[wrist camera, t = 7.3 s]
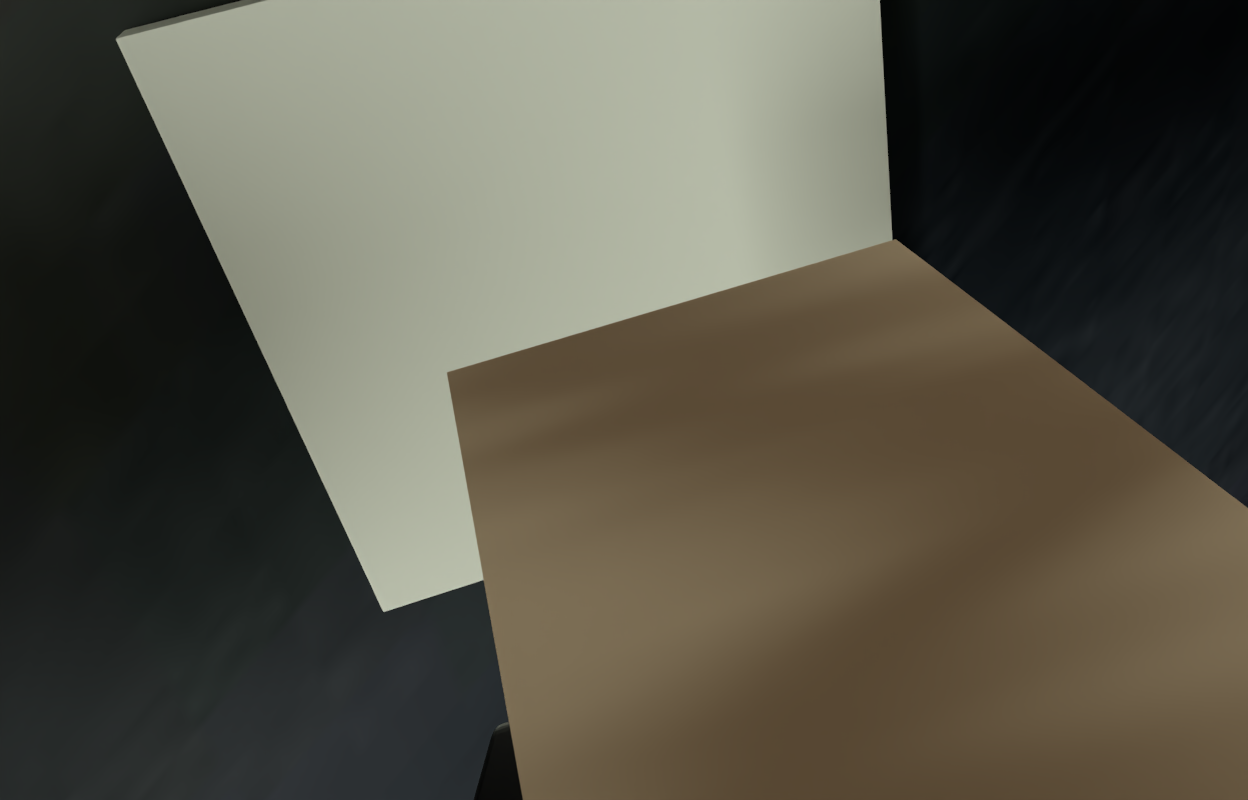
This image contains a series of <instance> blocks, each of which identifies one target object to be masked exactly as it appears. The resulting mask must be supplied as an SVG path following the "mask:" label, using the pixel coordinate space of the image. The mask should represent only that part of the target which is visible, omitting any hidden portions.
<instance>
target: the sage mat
mask: <svg viewBox="0 0 1248 800" xmlns="http://www.w3.org/2000/svg"><path fill="white" fill-rule="evenodd" d="M116 41H117V43H118V45H119V47H120V50H121V52H122V54H123V56H124V58H125V60H126V62H127V65H128V67H129V69H130V71H131V73H132V75H133V77H134V79H135V82H136V84H137V86H138V88H139V90H140V92H141V94H142V97H143V99H144V101H145V103H146V105H147V107H148V109H149V112H150V114H151V116H152V118H153V120H154V122H155V124H156V127H157V129H158V131H159V133H160V135H161V137H162V139H163V142H164V144H165V146H166V148H167V150H168V152H169V154H170V157H171V159H172V161H173V163H174V165H175V167H176V169H177V171H178V174H179V176H180V178H181V180H182V182H183V184H184V186H185V189H186V191H187V193H188V195H189V197H190V199H191V201H192V204H193V206H194V208H195V210H196V212H197V214H198V216H199V219H200V221H201V223H202V225H203V227H204V229H205V231H206V234H207V236H208V238H209V240H210V242H211V244H212V246H213V249H214V251H215V253H216V255H217V257H218V259H219V261H220V263H221V266H222V268H223V270H224V272H225V274H226V276H227V278H228V281H229V283H230V285H231V287H232V289H233V291H234V293H235V296H236V298H237V300H238V302H239V304H240V306H241V308H242V311H243V313H244V315H245V317H246V319H247V321H248V323H249V326H250V328H251V330H252V332H253V334H254V336H255V338H256V341H257V343H258V345H259V347H260V349H261V351H262V353H263V355H264V358H265V360H266V362H267V364H268V366H269V368H270V370H271V373H272V375H273V377H274V379H275V381H276V383H277V385H278V388H279V390H280V392H281V394H282V396H283V398H284V400H285V403H286V405H287V407H288V409H289V411H290V413H291V415H292V418H293V420H294V422H295V424H296V426H297V428H298V430H299V433H300V435H301V437H302V439H303V441H304V443H305V445H306V447H307V450H308V452H309V454H310V456H311V458H312V460H313V462H314V465H315V467H316V469H317V471H318V473H319V475H320V477H321V480H322V482H323V484H324V486H325V488H326V490H327V492H328V495H329V497H330V499H331V501H332V503H333V505H334V507H335V510H336V512H337V514H338V516H339V518H340V520H341V522H342V525H343V527H344V529H345V531H346V533H347V535H348V537H349V539H350V542H351V544H352V546H353V548H354V550H355V552H356V554H357V557H358V559H359V561H360V563H361V565H362V567H363V569H364V572H365V574H366V576H367V578H368V580H369V582H370V584H371V587H372V589H373V591H374V593H375V595H376V597H377V599H378V602H379V604H380V606H381V608H382V610H383V612H385V611H388V610H391V609H394V608H398V607H401V606H404V605H407V604H410V603H413V602H416V601H419V600H422V599H426V598H429V597H432V596H435V595H438V594H441V593H444V592H447V591H450V590H453V589H457V588H460V587H463V586H466V585H469V584H472V583H475V582H478V581H481V580H484V579H483V573H482V567H481V562H480V556H479V551H478V545H477V539H476V534H475V528H474V522H473V517H472V511H471V506H470V500H469V494H468V489H467V483H466V478H465V472H464V466H463V461H462V455H461V450H460V444H459V438H458V433H457V427H456V421H455V416H454V410H453V405H452V399H451V393H450V388H449V382H448V377H447V372H450V371H453V370H456V369H460V368H463V367H467V366H470V365H473V364H477V363H480V362H483V361H487V360H490V359H493V358H497V357H500V356H504V355H507V354H510V353H514V352H517V351H520V350H524V349H527V348H531V347H534V346H537V345H541V344H544V343H547V342H551V341H554V340H558V339H561V338H564V337H568V336H571V335H574V334H578V333H581V332H585V331H588V330H591V329H595V328H598V327H601V326H605V325H608V324H612V323H615V322H618V321H622V320H625V319H628V318H632V317H635V316H638V315H642V314H645V313H649V312H652V311H655V310H659V309H662V308H665V307H669V306H672V305H676V304H679V303H682V302H686V301H689V300H692V299H696V298H699V297H703V296H706V295H709V294H713V293H716V292H719V291H723V290H726V289H730V288H733V287H736V286H740V285H743V284H746V283H750V282H753V281H757V280H760V279H763V278H767V277H770V276H773V275H777V274H780V273H783V272H787V271H790V270H794V269H797V268H800V267H804V266H807V265H810V264H814V263H817V262H821V261H824V260H827V259H831V258H834V257H837V256H841V255H844V254H848V253H851V252H854V251H858V250H861V249H864V248H868V247H871V246H875V245H878V244H881V243H885V242H888V241H891V240H892V223H891V204H890V185H889V166H888V147H887V128H886V109H885V90H884V71H883V52H882V33H881V14H880V0H241V1H237V2H233V3H229V4H225V5H221V6H218V7H214V8H210V9H206V10H202V11H198V12H194V13H190V14H186V15H182V16H178V17H174V18H170V19H167V20H163V21H159V22H155V23H151V24H147V25H143V26H139V27H135V28H131V29H127V30H124V31H123V32H122V33H121V34H120V35H119V36H118V37H117V38H116Z"/></svg>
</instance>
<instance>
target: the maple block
mask: <svg viewBox="0 0 1248 800" xmlns="http://www.w3.org/2000/svg"><path fill="white" fill-rule="evenodd" d="M447 377H448V382H449V388H450V393H451V399H452V405H453V410H454V416H455V421H456V427H457V433H458V438H459V444H460V450H461V455H462V461H463V466H464V472H465V478H466V483H467V489H468V494H469V500H470V506H471V511H472V517H473V522H474V528H475V534H476V539H477V545H478V551H479V556H480V562H481V567H482V573H483V579H484V584H485V590H486V595H487V601H488V607H489V612H490V618H491V623H492V629H493V635H494V640H495V646H496V651H497V657H498V663H499V668H500V674H501V680H502V685H503V691H504V696H505V702H506V708H507V713H508V719H509V724H510V730H511V736H512V741H513V747H514V752H515V758H516V764H517V769H518V775H519V780H520V786H521V792H522V797H523V800H1248V508H1247V507H1245V506H1244V505H1243V504H1242V503H1240V502H1239V501H1238V500H1236V499H1235V498H1234V497H1232V496H1231V495H1230V494H1228V493H1227V492H1226V491H1225V490H1223V489H1222V488H1221V487H1219V486H1218V485H1217V484H1215V483H1214V482H1213V481H1211V480H1210V479H1209V478H1208V477H1206V476H1205V475H1204V474H1202V473H1201V472H1200V471H1198V470H1197V469H1196V468H1194V467H1193V466H1192V465H1191V464H1189V463H1188V462H1187V461H1185V460H1184V459H1183V458H1181V457H1180V456H1179V455H1177V454H1176V453H1175V452H1174V451H1172V450H1171V449H1170V448H1168V447H1167V446H1166V445H1164V444H1163V443H1162V442H1160V441H1159V440H1158V439H1156V438H1155V437H1154V436H1153V435H1151V434H1150V433H1149V432H1147V431H1146V430H1145V429H1143V428H1142V427H1141V426H1139V425H1138V424H1137V423H1136V422H1134V421H1133V420H1132V419H1130V418H1129V417H1128V416H1126V415H1125V414H1124V413H1122V412H1121V411H1120V410H1119V409H1117V408H1116V407H1115V406H1113V405H1112V404H1111V403H1109V402H1108V401H1107V400H1105V399H1104V398H1103V397H1102V396H1100V395H1099V394H1098V393H1096V392H1095V391H1094V390H1092V389H1091V388H1090V387H1088V386H1087V385H1086V384H1085V383H1083V382H1082V381H1081V380H1079V379H1078V378H1077V377H1075V376H1074V375H1073V374H1071V373H1070V372H1069V371H1068V370H1066V369H1065V368H1064V367H1062V366H1061V365H1060V364H1058V363H1057V362H1056V361H1054V360H1053V359H1052V358H1051V357H1049V356H1048V355H1047V354H1045V353H1044V352H1043V351H1041V350H1040V349H1039V348H1037V347H1036V346H1035V345H1034V344H1032V343H1031V342H1030V341H1028V340H1027V339H1026V338H1024V337H1023V336H1022V335H1020V334H1019V333H1018V332H1017V331H1015V330H1014V329H1013V328H1011V327H1010V326H1009V325H1007V324H1006V323H1005V322H1003V321H1002V320H1001V319H1000V318H998V317H997V316H996V315H994V314H993V313H992V312H990V311H989V310H988V309H986V308H985V307H984V306H983V305H981V304H980V303H979V302H977V301H976V300H975V299H973V298H972V297H971V296H969V295H968V294H967V293H966V292H964V291H963V290H962V289H960V288H959V287H958V286H956V285H955V284H954V283H952V282H951V281H950V280H949V279H947V278H946V277H945V276H943V275H942V274H941V273H939V272H938V271H937V270H935V269H934V268H933V267H932V266H930V265H929V264H928V263H926V262H925V261H924V260H922V259H921V258H920V257H918V256H917V255H916V254H914V253H913V252H912V251H911V250H909V249H908V248H907V247H905V246H904V245H903V244H901V243H900V242H899V241H897V240H896V239H895V240H891V241H888V242H885V243H881V244H878V245H875V246H871V247H868V248H864V249H861V250H858V251H854V252H851V253H848V254H844V255H841V256H837V257H834V258H831V259H827V260H824V261H821V262H817V263H814V264H810V265H807V266H804V267H800V268H797V269H794V270H790V271H787V272H783V273H780V274H777V275H773V276H770V277H767V278H763V279H760V280H757V281H753V282H750V283H746V284H743V285H740V286H736V287H733V288H730V289H726V290H723V291H719V292H716V293H713V294H709V295H706V296H703V297H699V298H696V299H692V300H689V301H686V302H682V303H679V304H676V305H672V306H669V307H665V308H662V309H659V310H655V311H652V312H649V313H645V314H642V315H638V316H635V317H632V318H628V319H625V320H622V321H618V322H615V323H612V324H608V325H605V326H601V327H598V328H595V329H591V330H588V331H585V332H581V333H578V334H574V335H571V336H568V337H564V338H561V339H558V340H554V341H551V342H547V343H544V344H541V345H537V346H534V347H531V348H527V349H524V350H520V351H517V352H514V353H510V354H507V355H504V356H500V357H497V358H493V359H490V360H487V361H483V362H480V363H477V364H473V365H470V366H467V367H463V368H460V369H456V370H453V371H450V372H447Z"/></svg>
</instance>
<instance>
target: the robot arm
mask: <svg viewBox="0 0 1248 800" xmlns="http://www.w3.org/2000/svg"><path fill="white" fill-rule="evenodd" d="M474 800H523V797H522V792H521V786H520V780H519V775H518V769H517V764H516V758H515V752H514V747H513V741H512V736H511V730H510V724H509V722H507V723H504V724H501V725H499V726H498V727H497V728H496V729H495V730H494V732H493V734H492V737H491V740H490V744H489V747H488V751H487V754H486V758H485V761H484V765H483V769H482V772H481V776H480V779H479V783H478V786H477V790H476V793H475V797H474Z"/></svg>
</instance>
